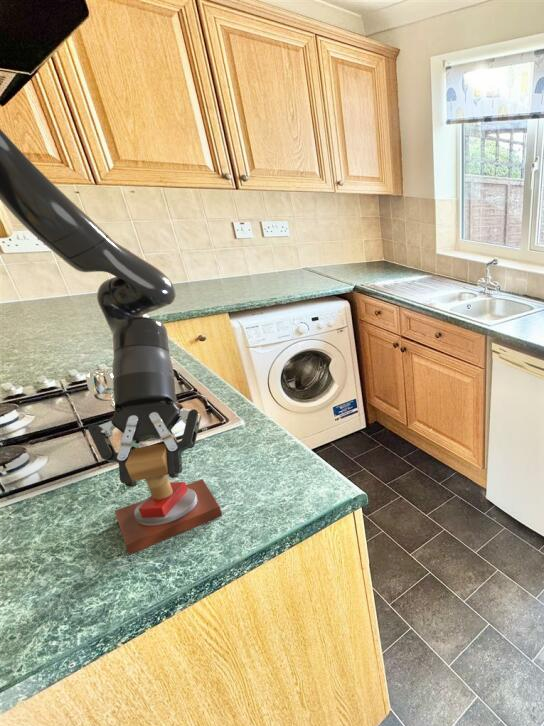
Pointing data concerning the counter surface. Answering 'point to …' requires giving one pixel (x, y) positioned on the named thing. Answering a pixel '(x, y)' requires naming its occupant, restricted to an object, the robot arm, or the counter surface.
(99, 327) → the counter surface
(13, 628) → the counter surface
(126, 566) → the counter surface
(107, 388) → the wineglass
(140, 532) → the stamp stand
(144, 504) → the stamp
